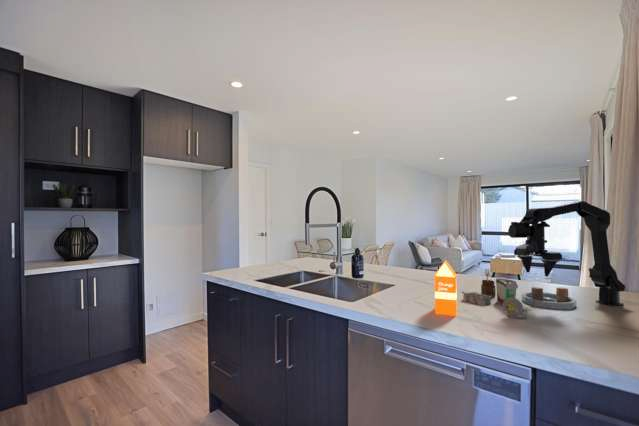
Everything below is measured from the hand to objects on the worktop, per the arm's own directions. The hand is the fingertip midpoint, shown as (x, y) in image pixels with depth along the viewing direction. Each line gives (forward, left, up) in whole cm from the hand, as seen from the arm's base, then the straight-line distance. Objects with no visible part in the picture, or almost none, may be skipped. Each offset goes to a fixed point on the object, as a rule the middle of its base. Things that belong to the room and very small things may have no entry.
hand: (536, 274), depth 132 cm
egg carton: (+23, -8, -13) cm, 27 cm away
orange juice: (+44, +2, -13) cm, 46 cm away
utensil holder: (+11, -16, -13) cm, 23 cm away
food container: (+13, -1, -13) cm, 18 cm away
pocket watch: (+23, +13, -13) cm, 29 cm away
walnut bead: (0, 0, -12) cm, 12 cm away
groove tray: (-5, 0, -12) cm, 14 cm away
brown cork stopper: (-10, +3, -12) cm, 16 cm away
